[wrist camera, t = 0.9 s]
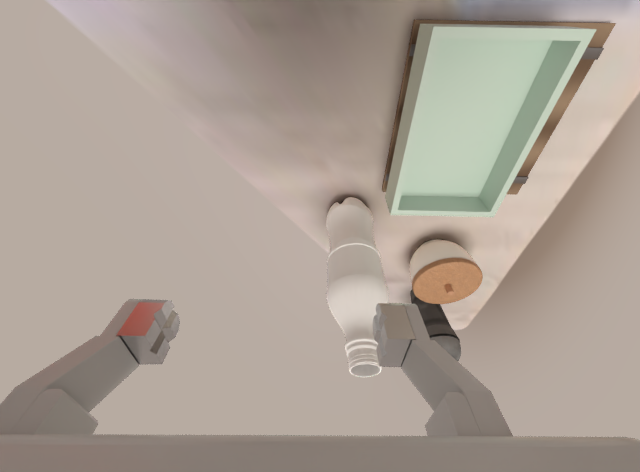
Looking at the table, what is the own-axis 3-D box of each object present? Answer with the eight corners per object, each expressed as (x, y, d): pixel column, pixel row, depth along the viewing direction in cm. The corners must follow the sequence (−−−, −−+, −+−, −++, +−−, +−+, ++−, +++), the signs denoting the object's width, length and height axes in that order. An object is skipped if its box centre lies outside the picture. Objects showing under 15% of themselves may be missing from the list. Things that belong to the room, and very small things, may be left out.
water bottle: (379, 211, 43) (420, 371, 25) (346, 234, 47) (359, 391, 28) (350, 183, 40) (372, 343, 21) (317, 210, 44) (310, 369, 25)
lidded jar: (423, 278, 54) (438, 319, 47) (391, 252, 49) (402, 293, 42) (474, 251, 49) (500, 293, 42) (444, 218, 44) (466, 259, 37)
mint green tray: (416, 22, 27) (433, 26, 22) (554, 25, 26) (596, 29, 22) (383, 192, 39) (390, 215, 35) (476, 194, 39) (493, 217, 35)
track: (413, 19, 27) (416, 20, 27) (609, 22, 27) (618, 23, 27) (381, 188, 41) (383, 192, 40) (514, 191, 41) (517, 195, 40)
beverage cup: (410, 279, 54) (442, 385, 39) (444, 282, 55) (490, 388, 40) (399, 300, 59) (424, 402, 44) (431, 303, 60) (467, 405, 44)
